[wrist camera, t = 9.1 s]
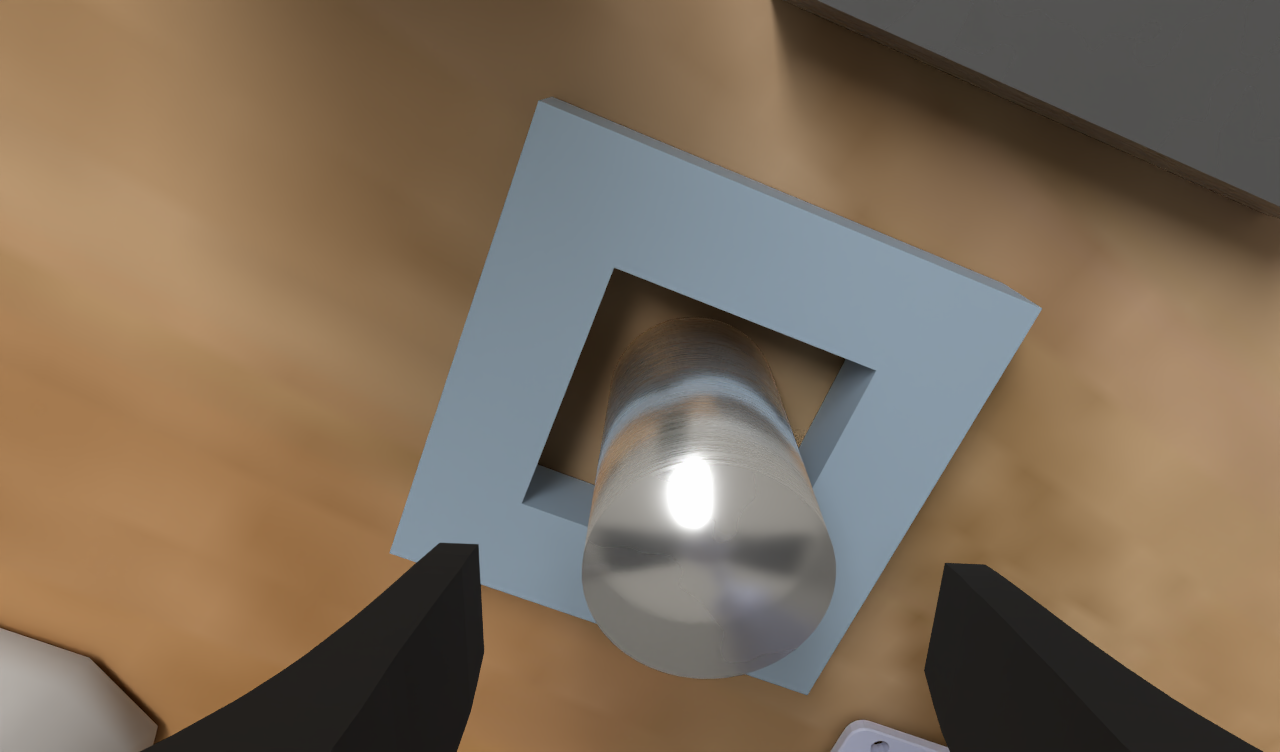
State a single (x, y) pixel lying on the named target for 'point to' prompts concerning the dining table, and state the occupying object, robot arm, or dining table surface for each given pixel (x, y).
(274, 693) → the robot arm
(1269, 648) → the dining table surface
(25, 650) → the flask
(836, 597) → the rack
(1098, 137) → the socket block
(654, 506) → the steel peg
